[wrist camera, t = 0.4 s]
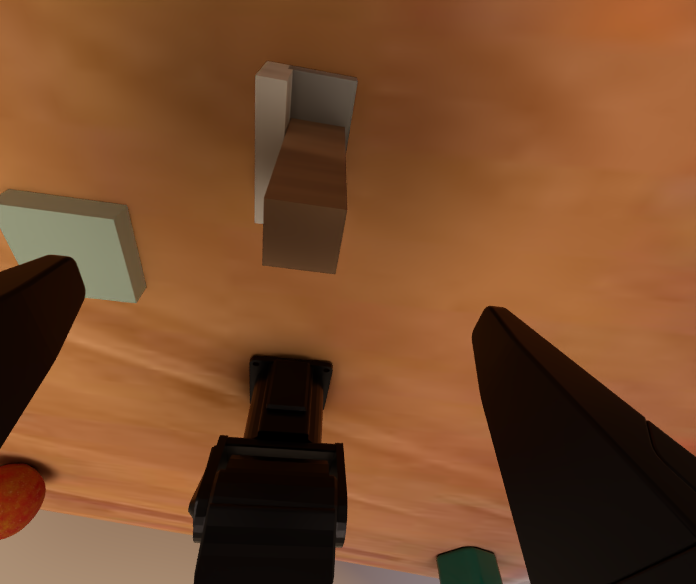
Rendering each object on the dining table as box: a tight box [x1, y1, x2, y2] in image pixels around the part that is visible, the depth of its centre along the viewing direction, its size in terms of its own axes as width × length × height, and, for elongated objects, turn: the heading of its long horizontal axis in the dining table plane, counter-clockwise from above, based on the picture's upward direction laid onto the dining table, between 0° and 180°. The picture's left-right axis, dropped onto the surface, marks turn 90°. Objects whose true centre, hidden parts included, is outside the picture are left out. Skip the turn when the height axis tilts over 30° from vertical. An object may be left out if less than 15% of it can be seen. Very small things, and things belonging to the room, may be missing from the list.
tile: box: [0, 189, 146, 303], centre depth 22 cm, size 6×6×2 cm
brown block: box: [255, 61, 358, 274], centre depth 15 cm, size 6×4×9 cm, turn 171°
